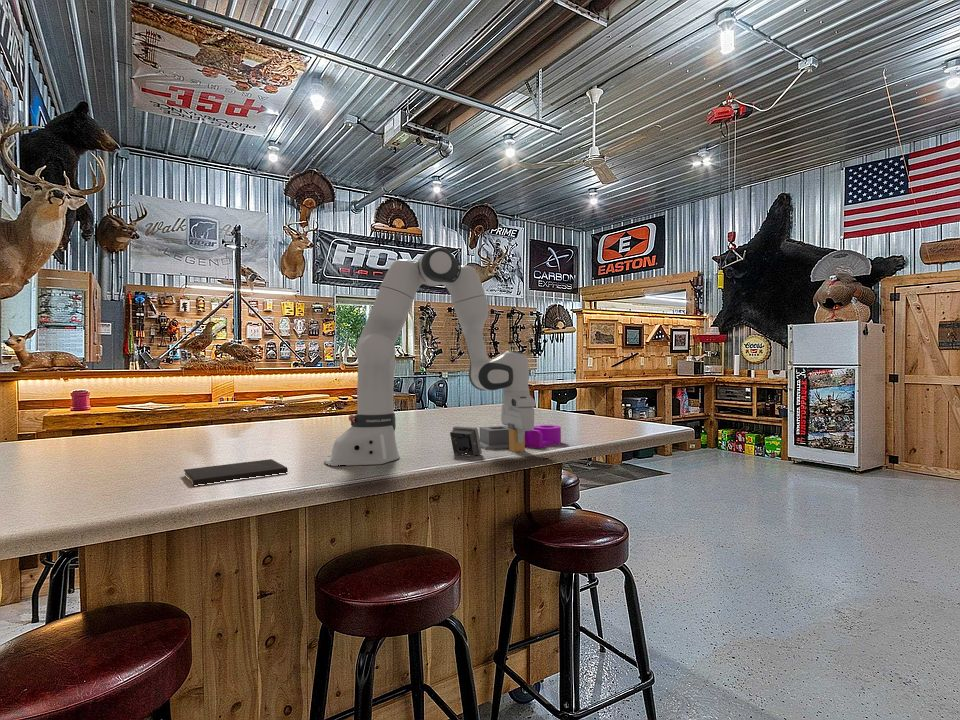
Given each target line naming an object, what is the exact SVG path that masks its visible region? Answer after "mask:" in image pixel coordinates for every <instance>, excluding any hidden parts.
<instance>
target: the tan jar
mask: <svg viewBox="0 0 960 720" xmlns="http://www.w3.org/2000/svg"><path fill="white" fill-rule="evenodd" d="M508 428H509V448H508V451H510V450H511V452H513V453H517V452H518V453H519V451H520V452H525V451H526V447H525V434H524V437H523V443H519V442H517V437H518V432H517V429H516V428H514V424H510V423H508Z"/></svg>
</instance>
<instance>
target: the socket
mask: <svg viewBox="0 0 960 720" xmlns="http://www.w3.org/2000/svg"><path fill="white" fill-rule="evenodd" d="M479 439H480V444H481V447H482V448H481V449H484V450H496V449H495V448H499V449H509V428H508V426H506V425H497V426H493V425H492V426H482V427H481V426H479Z"/></svg>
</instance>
